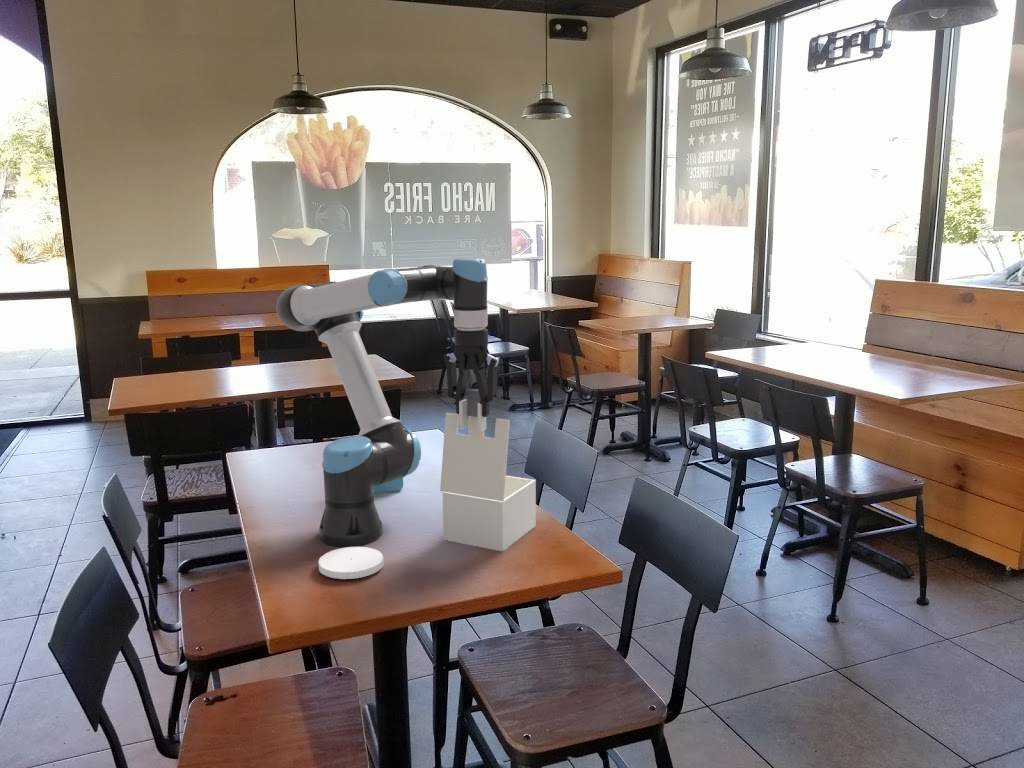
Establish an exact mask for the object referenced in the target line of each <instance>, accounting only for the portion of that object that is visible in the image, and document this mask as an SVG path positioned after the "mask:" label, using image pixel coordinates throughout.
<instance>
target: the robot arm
mask: <svg viewBox="0 0 1024 768" xmlns="http://www.w3.org/2000/svg"><path fill="white" fill-rule="evenodd" d="M487 270H488V269H487V262H486V260H485V259H483V258H481V257H473V258H472V257H467V258H466V257H463V258H462V257H461V258H455V259H454V260H453V261H452V266H443V265H442V266H440V265H432V264H430V265H427V264H426V265H419V266H417V267H408V268H385V269H382V270H377V271H374V272H373V273H372V274H367V275H362V276H359V277H354V278H350V279H346V280H342V281H328V282H321V283H310V284H309V283H308V284H298V285H293V286H290V287H288V288H286V289H285V290H284V291H282V293H280V295H279V296H278V298H277V301H276V304H275V305H276V306H275V307H276V309H275V310H276V315H277V317H278V319H279V320H280V322H281V323H282V324H283V325H284V326H286V327H287V328H289V329H291V330H293V331H297V332H310V331H315V334H316V337H317V339H318V341H319V342H321V343H324V344H326V345H327V349H328V351H329V352H330V355H331V357H332V361H333V362H334V365H335V368H336V371H337V374H338V375H339V378H340V381H341V382H342V386H343V387H344V392H345V393H346V395H347V399H348V401H349V403H350V406H351V409H352V411H353V413H354V416H355V419H356V421H357V424H358V427H359V430H360V431H359V433H358V435H351V436H349V437H341V438H338V439H335V440H333V441H331V442H329V443H328V444H327V445H326V446H325V447H324V449H323V453H322V464H321V466H322V469H323V470H322V471H323V484H324V487H323V489H324V490H323V491H324V505H325V506H324V509H323V513H322V517H321V520H320V525H319V527H318V532H319V533H318V537H319V540H320V541H321V542H323V543H325V544H328V545H331V546H336V545H337V547H355V546H360V545H366V544H368V543H371V542H374V541H376V540H378V539H379V538H380V537H381V536H382V535H383V523H382V520H381V519H380V515H379V513H378V509H377V507H376V505H375V493H374V487H375V486H378V485H381V484H384V483H387V482H390V481H393V480H396V479H401V478H403V479H404V478H405V477H407V476H409V475H411V474H413V473H414V472H415V471H416V470H417V469H418V467H419V465H420V461H421V457H422V447H421V446H422V445H421V444H420V443H421V442H420V441H419V438H418V436H417V435H416V433H414V432H412V431H411V430H410V429H406V428H404V426H403V424H402V422H401V420H400V419H397V418H395V417H393V415H392V413H391V410H390V407H389V405H388V403H387V401H386V398H385V396H384V393H383V390H382V388H381V385H380V383H379V380H378V378H377V374H376V373H375V370H374V367H373V365H372V362H371V360H370V358H369V355H368V352H367V350H366V348H365V345H364V343H363V340H362V338H361V335H360V330H361V327H362V322H361V320H362V318H363V316H364V311H367V310H372V309H378V308H383V307H390V306H394V305H400V304H407V303H415V302H425V301H432V300H443V301H444V300H447V301H453V326H454V327H455V328H456V329H454V330H453V332H454V335H453V336H454V345H455V346H454V350H453V352H451V353H447V354H445V355H443V360H444V363H445V366H446V385H447V396H448V398H452V399H454V400H455V409H456V410H455V414H459V430H462V431H463V430H465V429H468V425H469V416H467V404H468V398H467V396H466V390H467V386H468V385H467V384H468V378H469V372H470V370H472V372H473V374H474V376H475V379H476V381H475V382H476V386H477V390H478V391H479V396H480V402H479V403H478V431H479V432H481V431H483V430H485V431H486V430H487V418H488V417H489V416H490V402H493V401H495V400H497V399H498V381H499V380H498V374H499V372H498V371H499V365H500V362H501V358H500V357H499V356H496V357H495V356H493V355H491V354H490V351H489V347H488V346H489V330H488V329H487V328H486V327H487V326H489V325H488V324H489V322H488V319H489V318H488V316H489V315H488V279H489V276H488V271H487ZM456 361H457V362H458V363H459V366H458V374H457V364H456V363H457V362H456ZM486 362H487V365H488V369H487V377H486V366H485V363H486ZM457 376H458V377H457ZM466 398H467V399H466ZM487 416H488V417H487Z"/></svg>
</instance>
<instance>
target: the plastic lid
mask: <svg viewBox="0 0 1024 768" xmlns="http://www.w3.org/2000/svg"><path fill="white" fill-rule="evenodd" d="M384 564H385V563H384V554H383V553H382V552H381V551H380V550H378V549H375V548H372V547H367V546H366V547H365V546H344V547H342V548H336V549H333V550H329V551H328V552H326V553H325V554H323V555H321V556H320V557H319V559H318V572H319V573H320V574H322V575H323V576H325V577H327V578H328V577H329V578H331V579H338V580H347V579H348V580H350V579H351V580H352V579H353V580H355V579H359V578H360V579H361V578H364V577H367V576H368V577H369V576H371V575H374V574H375V573H378V572H379V571H381V569H382V568H383V567H384Z"/></svg>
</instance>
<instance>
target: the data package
mask: <svg viewBox="0 0 1024 768" xmlns="http://www.w3.org/2000/svg"><path fill="white" fill-rule="evenodd" d="M403 488H404V477H403V478H401V479H396V480H393V481H390V482H387V483H384V484H381V485H378V486H375V487H374V494H382V492H384V493H391V492H392V491H395V492H399V491H402V489H403Z"/></svg>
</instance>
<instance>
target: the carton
mask: <svg viewBox="0 0 1024 768" xmlns="http://www.w3.org/2000/svg"><path fill="white" fill-rule="evenodd" d="M536 480H537V479H532V478H523V477H518V476H512V475H506V479H505V492H504V501H497V500H491V499H485V498H479V497H473V496H467V495H461V494H455V493H449V492H442V523H443V525H442V528H443V529H442V533H443V534H442V535H443V541H446V540H448V542H451V541H452V543H458V544H463V545H466V546H467V545H468V546H473V547H477V546H478V548H483V549H487V550H488V549H489V550H493V551H499V552H504V551H506V550H507V549H508V548H509V547H511V546H512V545H513V544H515V543H516V542H518V540H519V539H521V538H522V537H524V536H525V535H526V534H528V533H529V531H531V530H532V529H533V528H535V527H536V525H537V523H536V521H537V520H536V518H537V515H536V513H537V511H536V505H537V503H536V501H537V498H536V497H537V493H536V492H537V490H536V489H537V487H536V486H537V481H536Z"/></svg>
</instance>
